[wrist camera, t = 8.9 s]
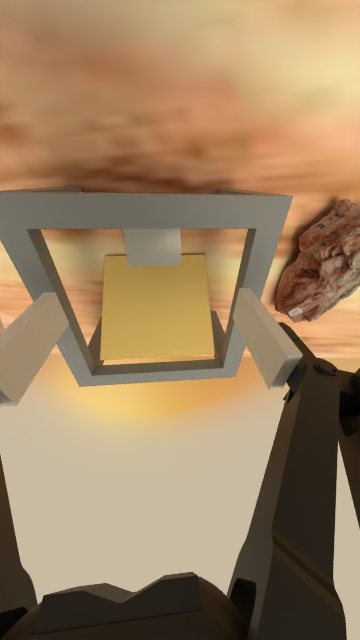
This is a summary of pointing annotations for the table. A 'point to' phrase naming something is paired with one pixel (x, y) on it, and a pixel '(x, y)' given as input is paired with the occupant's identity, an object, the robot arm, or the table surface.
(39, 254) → the frame
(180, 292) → the hatch
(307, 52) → the table surface
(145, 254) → the grey cube
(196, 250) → the table surface
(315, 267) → the rock
